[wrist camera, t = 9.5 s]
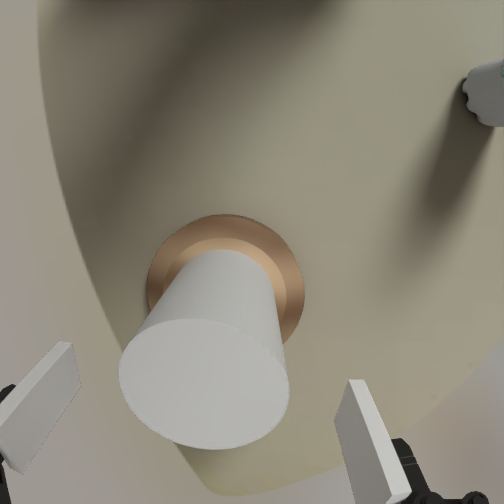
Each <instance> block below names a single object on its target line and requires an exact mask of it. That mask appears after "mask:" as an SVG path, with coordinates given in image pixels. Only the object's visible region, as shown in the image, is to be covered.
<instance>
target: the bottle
mask: <svg viewBox="0 0 504 504" xmlns="http://www.w3.org/2000/svg"><path fill="white" fill-rule="evenodd" d="M463 92H464V93H467V94H468V98H469V100H468V102H467V103H466V105H467V108H468V109H469V110H470V111H472V112H474V113H476V114H477V119H478V121H479V122H480V123H482V124H484V125H488V126H495V127H504V59H503V60H499V61H495V62H491V63H487V64H484V65H481V66H478V67H476V68H474V69H472V70H471V71H470V72H469V74H468V78H467V80H466V81H465V82H464V84H463Z"/></svg>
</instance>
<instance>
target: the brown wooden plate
mask: <svg viewBox="0 0 504 504" xmlns="http://www.w3.org/2000/svg"><path fill="white" fill-rule="evenodd" d="M218 249H225V250H232V251H236V252H240V253H242V254H245V255H247V256H249V257H250V258H252V259H253V260H255V261H256V262H257V263H258V264H259V265H260V266H261V267H262V268H263V269H264V270H265V272H266V273H267V275H268V277H269V279H270V281H271V283H272V287H273V291H274V297H275V303H276V309H277V315H278V321H279V327H280V333H281V339H282V344H283V343H284V342H285V341H286V340H287V339H288V338H289V337H290V335H291V334H292V333H293V331H294V330H295V328H296V326H297V325H298V322H299V320H300V317H301V314H302V311H303V307H304V298H305V293H304V282H303V277H302V274H301V271H300V268H299V266H298V264H297V261H296V259H295V257H294V255H293V253H292V252H291V250H290V249H289V247H288V246H287V244H286V243H285V242H284V241H283V240H282V239H281V237H280V236H279V235H277V234H276V233H275V232H274V231H273V230H271V229H270V228H268V227H267V226H265V225H264V224H262V223H259V222H257V221H255V220H253V219H250V218H246V217H243V216H237V215H225V214H222V215H212V216H208V217H203V218H200V219H198V220H195V221H193V222H191V223H189V224H187V225H185V226H184V227H183V228H181V229H180V230H179V231H177V232H176V233H175V234H173V235H172V236H171V237H170V238H169V239H168V240H167V241H166V242H165V243H164V244H163V245H162V246H161V248H160V249H159V250H158V252H157V254H156V255H155V257H154V259H153V261H152V264H151V267H150V269H149V274H148V279H147V298H148V303H149V308H150V311H152V309H153V308H154V306H155V305H156V304H157V302H158V301H159V299H160V298H161V297H162V295H163V294H164V292H165V291H166V290H167V288H168V287H169V285H170V284H171V283H172V281H173V280H174V279H175V277H176V276H177V274H178V273H179V272H180V270H181V269H182V268H183V266H184V265H185V264H186V263H187V262H188V261H189V260H191V259H192V258H194V257H195V256H197V255H199V254H201V253H204V252H207V251H211V250H218Z"/></svg>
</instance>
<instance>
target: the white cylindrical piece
mask: <svg viewBox="0 0 504 504" xmlns="http://www.w3.org/2000/svg"><path fill="white" fill-rule="evenodd" d="M118 374H119V384H120V388H121V391H122V394H123V396H124V398H125V400H126V402H127V404H128V406H129V407H130V409H131V410H132V411H133V413H134V414H135V415H136V416H137V417H138V418H139V419H140V420H141V421H142V422H143V423H144V424H145V425H146V426H148V427H149V428H150V429H151V430H153V431H154V432H156V433H158V434H159V435H161V436H163V437H165V438H167V439H169V440H171V441H173V442H176V443H179V444H182V445H185V446H189V447H194V448H200V449H212V450H218V449H230V448H235V447H240V446H243V445H246V444H249V443H252V442H254V441H256V440H258V439H260V438H261V437H263V436H265V435H266V434H267V433H269V432H270V431H271V430H272V429H273V428H274V427H275V426H276V425H277V424H278V423H279V421H280V420H281V419H282V417H283V415H284V413H285V411H286V409H287V406H288V402H289V382H288V376H287V370H286V364H285V357H284V351H283V345H282V339H281V333H280V327H279V321H278V315H277V309H276V303H275V297H274V291H273V287H272V283H271V281H270V279H269V277H268V275H267V273H266V272H265V270H264V269H263V268H262V267H261V266H260V265H259V264H258V263H257V262H256V261H255V260H253V259H252V258H250V257H249V256H247V255H245V254H242V253H240V252H236V251H232V250H225V249H218V250H211V251H207V252H204V253H201V254H199V255H197V256H195V257H194V258H192V259H191V260H189V261H188V262H187V263H186V264H185V265H184V266H183V268H182V269H181V270H180V272H179V273H178V274H177V276H176V277H175V279H174V280H173V281H172V283H171V284H170V285H169V287H168V288H167V290H166V291H165V292H164V294H163V295H162V297H161V298H160V299H159V301H158V302H157V304H156V305H155V306H154V308H153V309H152V311H151V312H150V314H149V315H148V316H147V318H146V319H145V321H144V322H143V324H142V325H141V326H140V328H139V329H138V331H137V332H136V334H135V335H134V337H133V338H132V340H131V341H130V342H129V344H128V345H127V347H126V348H125V350H124V352H123V354H122V357H121V360H120V363H119V373H118Z"/></svg>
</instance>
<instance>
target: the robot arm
mask: <svg viewBox="0 0 504 504" xmlns="http://www.w3.org/2000/svg"><path fill="white" fill-rule="evenodd" d="M80 388H81V383H80V379H79V374H78V370H77V365H76V360H75V355H74V350H73V345H72V343H68V342H64V341H59V342H58V343H57V344H56V345H55V346H54V347H53V348H52V349H51V350H50V351H49V352H48V353H47V354H46V355H45V356H44V357H43V358H42V359H41V360H40V361H39V362H38V363H37V364H36V366H34V368H33V369H32V370H31V371H30V372H29V373H28V374H27V375H26V376H25V377H24V378H23V380H21V381H20V383H19V384H18V385H17V386H16V385H13V384H11V385H9V386H7V387H6V388H4V389H3V390H2V391H1V392H0V504H11V500H10V496H9V492H8V488H7V483H6V478H5V473H4V468H3V466H2V464H1V463H2V462H3V460H5V461H6V463H7V464H8V466H9V467H10V468H12V469H13V470H15V471H17V472H19V473H21V474H24V473H25V471H26V469H27V468H28V466H29V465H30V463H31V461H32V460H33V458H34V457H35V455H36V453H37V452H38V450H39V449H40V447H41V446H42V444H43V442H44V441H45V439H46V438H47V436H48V435H49V433H50V432H51V430H52V429H53V427H54V426H55V424H56V423H57V421H58V420H59V418H60V417H61V415H62V414H63V412H64V411H65V409H66V408H67V407H68V405H69V403H70V402H71V401H72V399H73V398H74V396H75V395H76V394H77V392H78V391H79V389H80ZM334 423H335V426H336V430H337V434H338V437H339V441H340V445H341V449H342V452H343V456H344V460H345V464H346V467H347V471H348V475H349V479H350V483H351V487H352V491H353V495H354V499H355V503H356V504H489V502H488V499H487V497H486V496H485V495H484V494H482V493H481V492H477V491H474V492H470V493H468V494H466V495H465V497H464V498H463V499H443V498H442V497H441V496H440V495H439V494H437V493H435V492H431V491H430V489H429V488H428V485H427V483H426V481H425V479H424V477H423V474H422V472H421V470H420V468H419V466H418V464H417V461H416V459H415V457H414V456H413V453H412V450H411V448H410V446H409V445H408V444H407V443H406V442H405V441H404V440H403V439H402V438H398V439H390V437H389V435H388V432H387V430H386V428H385V426H384V423H383V421H382V419H381V416H380V414H379V412H378V410H377V408H376V405H375V403H374V401H373V399H372V396H371V394H370V392H369V390H368V388H367V386H366V383H365V381H364V380H348V383H347V386H346V389H345V392H344V395H343V398H342V400H341V403H340V406H339V409H338V411H337V414H336V417H335V419H334Z"/></svg>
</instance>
